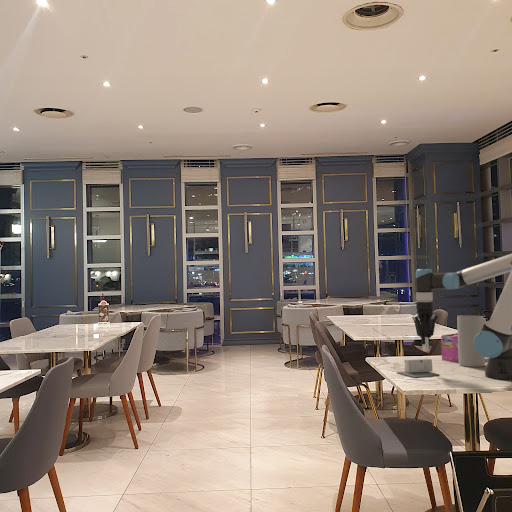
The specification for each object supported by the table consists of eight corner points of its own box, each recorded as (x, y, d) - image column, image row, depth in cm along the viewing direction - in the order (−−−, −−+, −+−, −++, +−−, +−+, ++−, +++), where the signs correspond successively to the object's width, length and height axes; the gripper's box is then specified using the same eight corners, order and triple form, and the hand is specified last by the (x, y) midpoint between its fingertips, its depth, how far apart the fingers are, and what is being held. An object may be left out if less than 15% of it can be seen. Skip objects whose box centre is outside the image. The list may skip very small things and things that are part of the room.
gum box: (465, 355, 298) (464, 332, 299) (478, 357, 292) (477, 333, 293) (441, 360, 284) (440, 335, 284) (454, 361, 278) (453, 336, 278)
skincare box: (433, 371, 245) (409, 373, 243) (428, 370, 249) (404, 372, 247) (431, 358, 245) (408, 360, 243) (427, 357, 250) (403, 359, 248)
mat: (439, 375, 240) (439, 374, 240) (414, 378, 235) (414, 376, 235) (421, 371, 252) (421, 369, 252) (397, 373, 247) (396, 372, 247)
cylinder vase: (490, 366, 261) (488, 316, 262) (467, 367, 259) (465, 317, 260) (476, 362, 273) (474, 315, 274) (454, 363, 271) (452, 315, 272)
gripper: (430, 300, 252) (431, 349, 251) (408, 301, 248) (409, 350, 247) (440, 301, 245) (442, 351, 244) (418, 302, 241) (419, 353, 240)
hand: (425, 351), depth 246 cm, fingers closed
